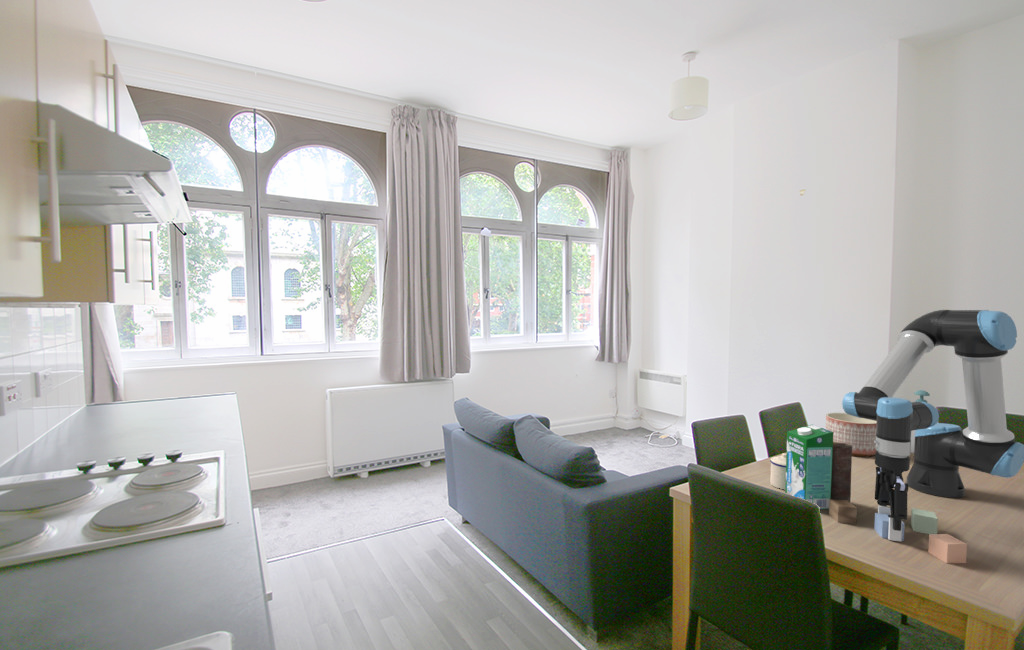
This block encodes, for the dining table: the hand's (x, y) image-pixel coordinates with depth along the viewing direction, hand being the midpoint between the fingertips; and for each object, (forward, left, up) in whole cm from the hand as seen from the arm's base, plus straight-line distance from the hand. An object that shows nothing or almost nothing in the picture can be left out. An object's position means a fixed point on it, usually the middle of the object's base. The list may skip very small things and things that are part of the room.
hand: (888, 534), depth 130 cm
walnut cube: (+9, -7, 0) cm, 11 cm away
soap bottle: (-46, -92, -1) cm, 103 cm away
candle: (+7, -19, -1) cm, 20 cm away
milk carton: (+16, -16, -1) cm, 23 cm away
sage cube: (-11, -7, 0) cm, 13 cm away
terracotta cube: (-9, +9, 0) cm, 13 cm away
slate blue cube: (0, 0, 0) cm, 0 cm away
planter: (-18, -84, -1) cm, 86 cm away
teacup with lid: (+19, -31, -1) cm, 36 cm away
